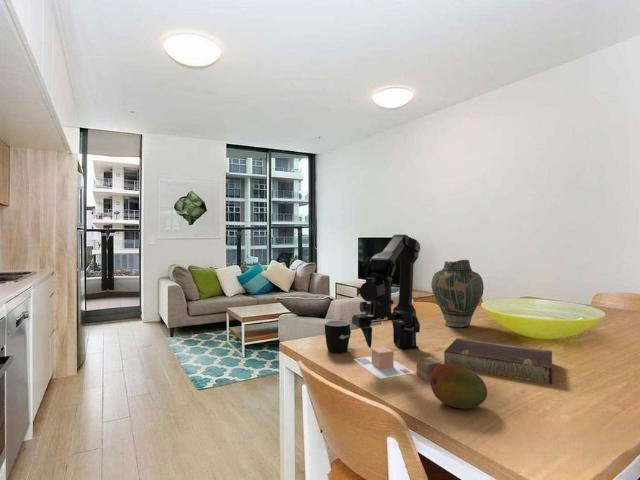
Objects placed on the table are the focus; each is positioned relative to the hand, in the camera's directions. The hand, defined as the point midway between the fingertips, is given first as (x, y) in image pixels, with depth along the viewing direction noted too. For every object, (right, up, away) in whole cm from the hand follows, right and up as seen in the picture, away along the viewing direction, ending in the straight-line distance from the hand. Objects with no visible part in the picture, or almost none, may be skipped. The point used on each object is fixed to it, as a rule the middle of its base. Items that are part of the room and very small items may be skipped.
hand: (382, 345), depth 117 cm
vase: (+42, -6, +51) cm, 66 cm away
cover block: (0, -6, 0) cm, 6 cm away
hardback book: (+37, -7, +1) cm, 38 cm away
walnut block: (+12, -7, -9) cm, 17 cm away
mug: (-13, -7, +17) cm, 22 cm away
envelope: (0, -7, 0) cm, 7 cm away
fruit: (+14, -7, -27) cm, 31 cm away
